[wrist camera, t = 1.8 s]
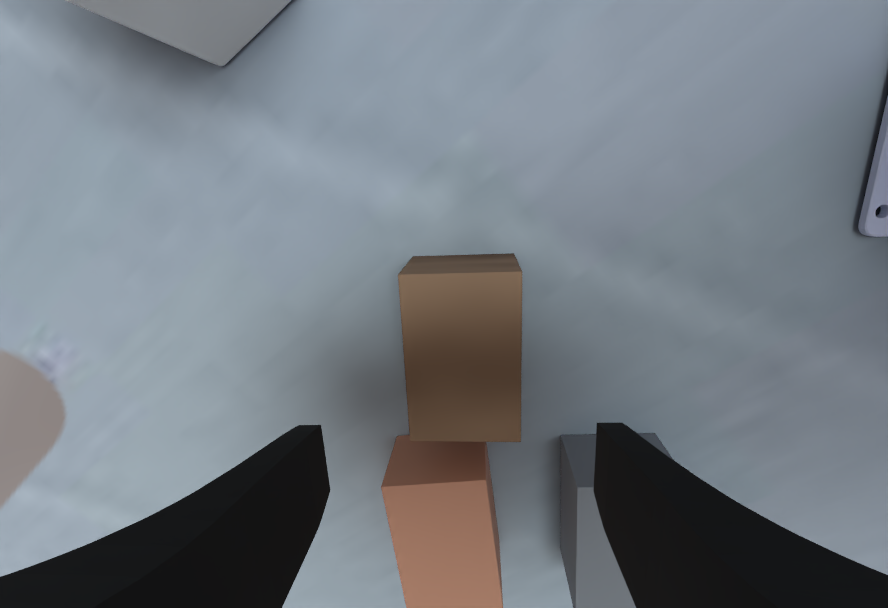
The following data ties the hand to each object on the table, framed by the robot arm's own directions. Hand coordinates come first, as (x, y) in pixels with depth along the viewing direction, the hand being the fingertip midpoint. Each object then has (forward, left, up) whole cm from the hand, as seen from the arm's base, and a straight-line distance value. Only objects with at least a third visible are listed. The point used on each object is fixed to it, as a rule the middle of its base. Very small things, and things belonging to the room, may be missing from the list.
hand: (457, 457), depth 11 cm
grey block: (+9, +7, -10) cm, 15 cm away
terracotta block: (+9, -1, -10) cm, 13 cm away
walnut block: (0, 0, -10) cm, 10 cm away
